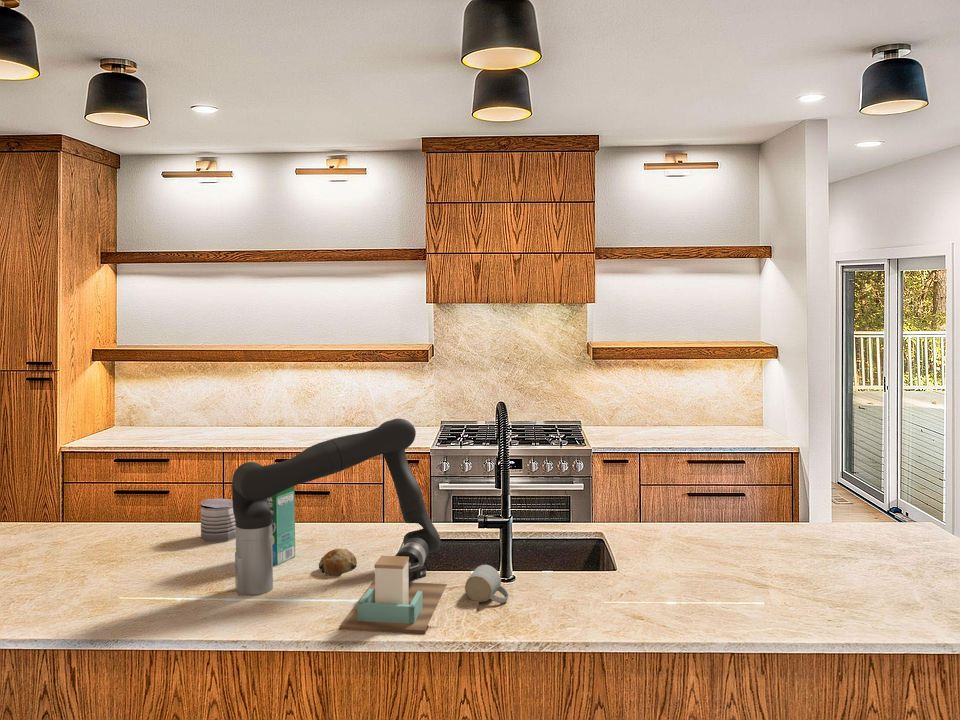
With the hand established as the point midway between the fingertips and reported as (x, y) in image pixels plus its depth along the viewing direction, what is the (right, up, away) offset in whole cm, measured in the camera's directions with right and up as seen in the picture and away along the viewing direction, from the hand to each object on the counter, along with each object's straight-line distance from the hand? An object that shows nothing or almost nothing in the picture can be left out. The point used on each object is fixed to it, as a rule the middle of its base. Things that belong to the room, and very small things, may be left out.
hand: (394, 582), depth 186 cm
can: (-63, -3, +61) cm, 88 cm away
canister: (0, -6, -3) cm, 7 cm away
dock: (0, -7, -3) cm, 8 cm away
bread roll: (-19, -6, +30) cm, 36 cm away
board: (0, -7, +3) cm, 8 cm away
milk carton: (-40, -5, +39) cm, 56 cm away
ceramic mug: (+23, -7, +9) cm, 25 cm away
